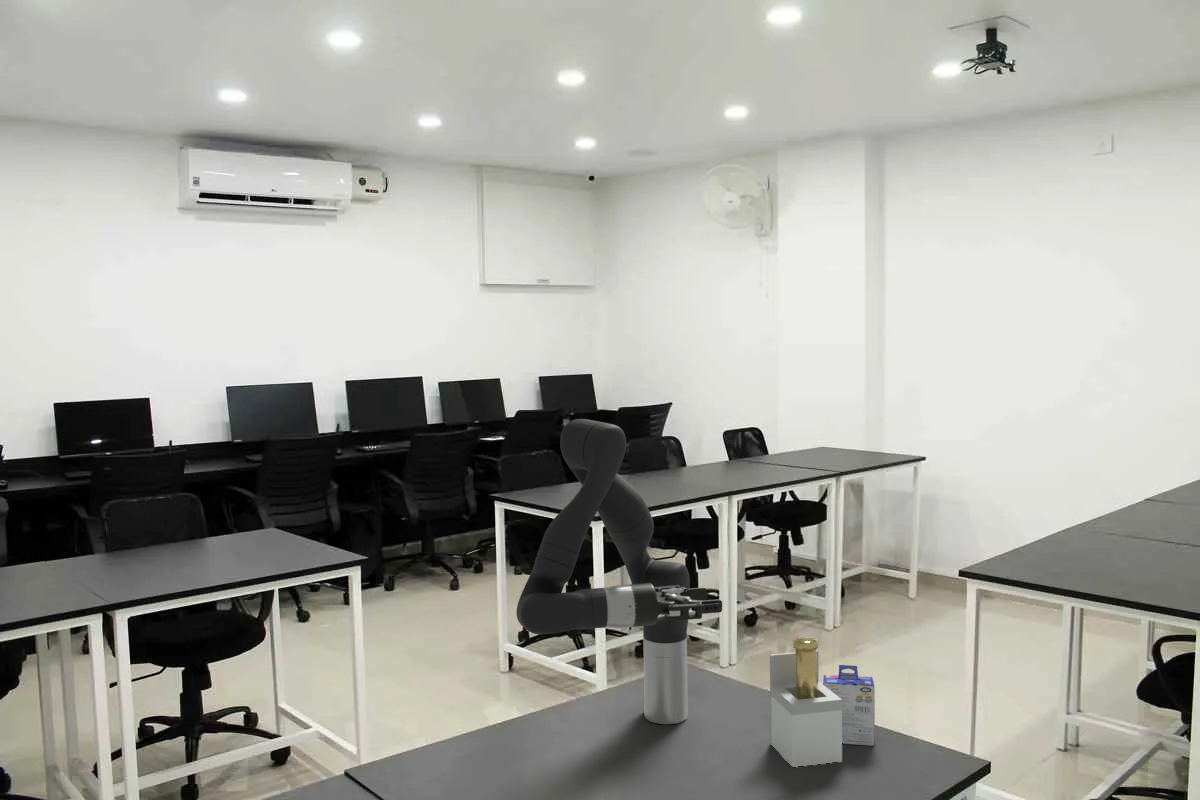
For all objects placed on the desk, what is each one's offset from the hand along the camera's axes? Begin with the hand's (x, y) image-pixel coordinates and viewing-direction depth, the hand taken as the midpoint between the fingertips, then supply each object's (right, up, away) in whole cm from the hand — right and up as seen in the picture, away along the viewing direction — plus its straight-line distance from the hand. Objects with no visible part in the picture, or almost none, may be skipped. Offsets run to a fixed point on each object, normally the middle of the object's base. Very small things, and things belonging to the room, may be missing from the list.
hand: (713, 599), depth 171 cm
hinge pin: (+19, -21, +7) cm, 29 cm away
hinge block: (+19, -31, +8) cm, 37 cm away
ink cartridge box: (+29, -31, +14) cm, 45 cm away
